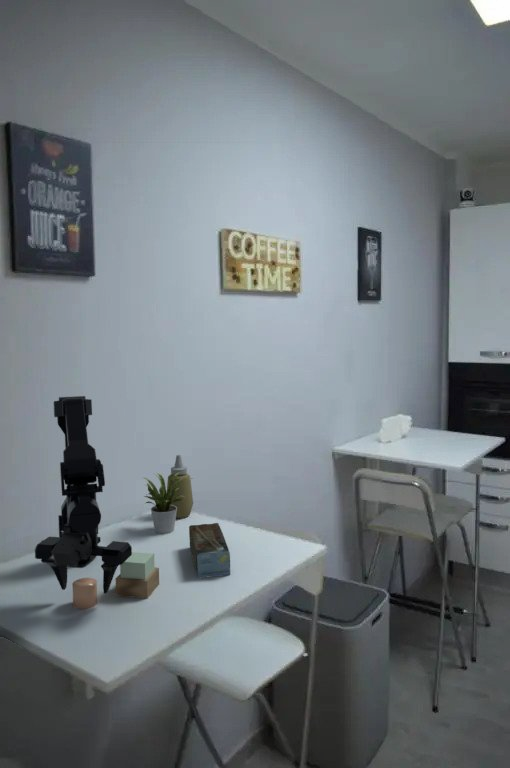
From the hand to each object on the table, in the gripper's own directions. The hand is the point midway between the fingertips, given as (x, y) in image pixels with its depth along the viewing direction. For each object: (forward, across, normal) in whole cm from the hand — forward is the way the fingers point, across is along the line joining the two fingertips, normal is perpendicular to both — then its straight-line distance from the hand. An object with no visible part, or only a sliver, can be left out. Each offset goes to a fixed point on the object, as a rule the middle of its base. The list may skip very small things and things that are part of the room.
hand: (84, 590), depth 126 cm
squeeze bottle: (+3, +1, +57) cm, 57 cm away
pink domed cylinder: (+3, 0, 0) cm, 3 cm away
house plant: (+3, +2, +45) cm, 45 cm away
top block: (-1, +8, +8) cm, 11 cm away
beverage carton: (+3, +19, +26) cm, 32 cm away
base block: (+3, +8, +8) cm, 12 cm away
